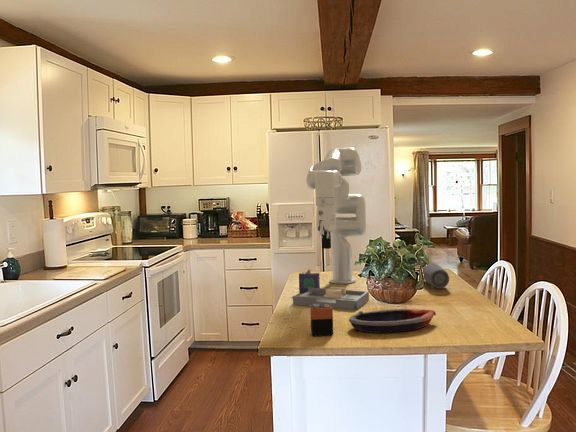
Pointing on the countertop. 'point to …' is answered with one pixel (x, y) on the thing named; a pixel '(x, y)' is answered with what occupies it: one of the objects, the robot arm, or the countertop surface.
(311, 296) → the board
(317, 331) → the battery
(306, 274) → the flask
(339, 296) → the beech block
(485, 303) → the countertop surface
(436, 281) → the bluetooth speaker
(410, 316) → the dish
